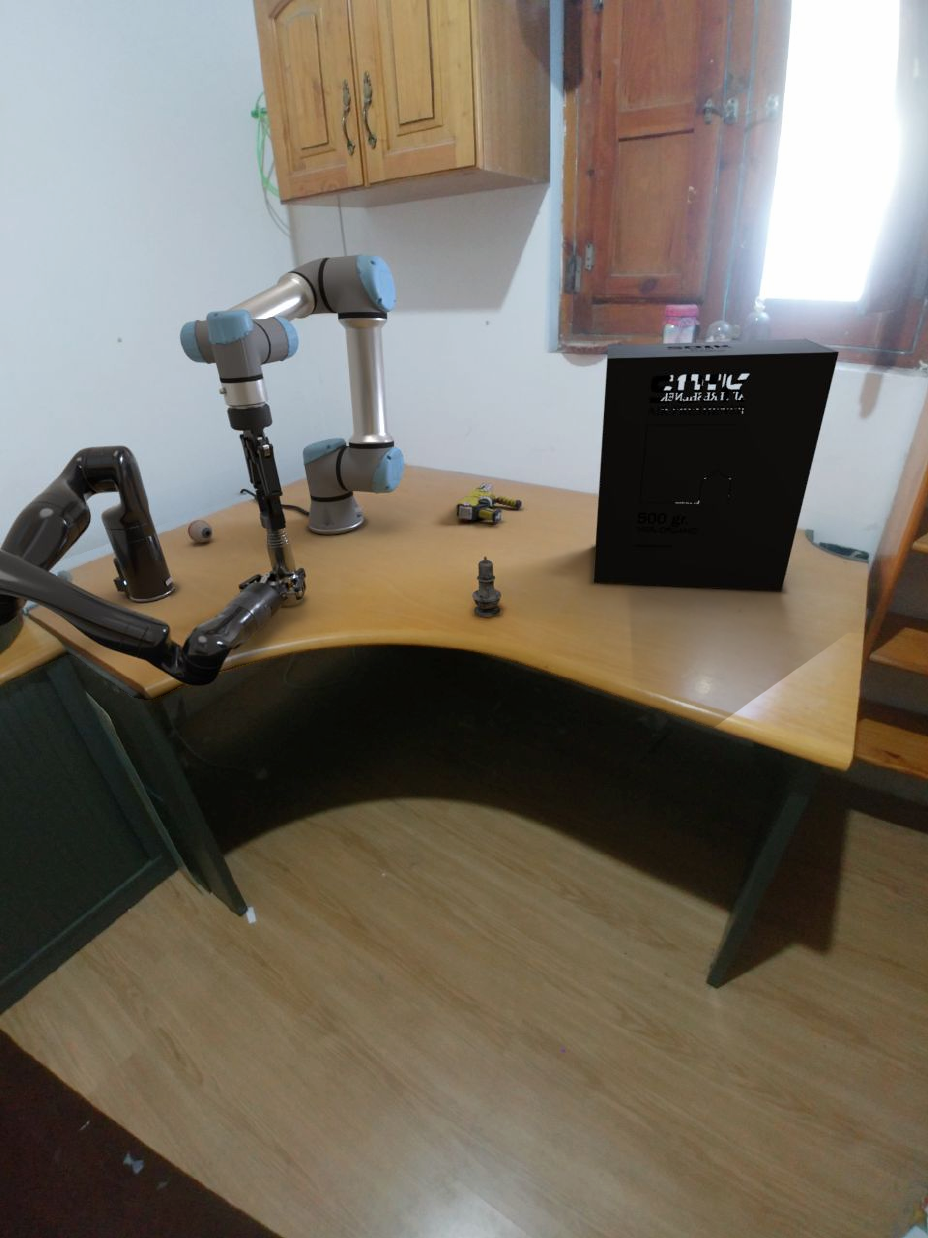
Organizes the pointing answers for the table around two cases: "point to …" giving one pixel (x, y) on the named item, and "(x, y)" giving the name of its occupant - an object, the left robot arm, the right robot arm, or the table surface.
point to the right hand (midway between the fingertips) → (273, 524)
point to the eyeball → (200, 531)
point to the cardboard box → (707, 461)
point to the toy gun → (483, 505)
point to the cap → (266, 519)
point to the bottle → (281, 559)
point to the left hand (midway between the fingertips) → (291, 571)
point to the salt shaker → (486, 591)
